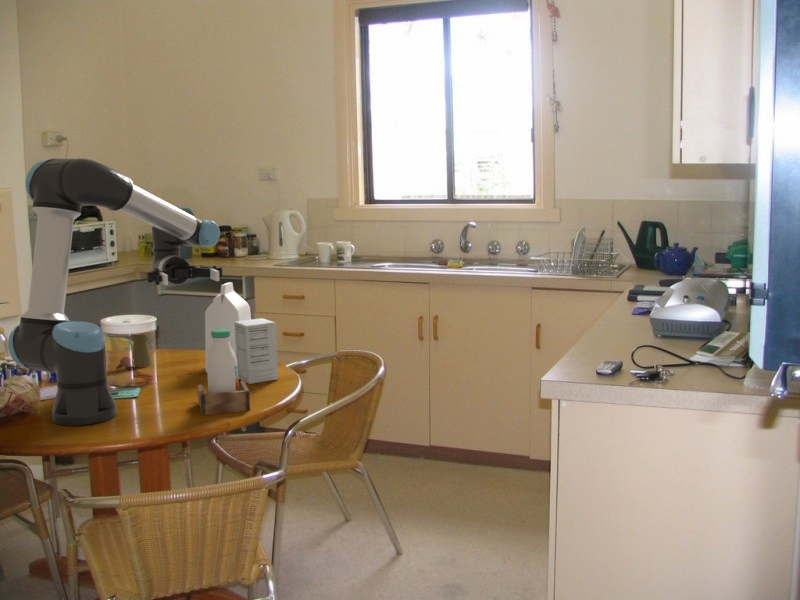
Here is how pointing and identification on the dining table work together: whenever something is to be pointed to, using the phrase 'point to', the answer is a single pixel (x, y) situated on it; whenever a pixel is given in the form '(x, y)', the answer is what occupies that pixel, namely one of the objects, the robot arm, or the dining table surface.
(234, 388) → the milk bottle
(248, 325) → the supplement box
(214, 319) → the milk
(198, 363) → the dining table surface
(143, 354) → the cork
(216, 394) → the walnut U-rest
